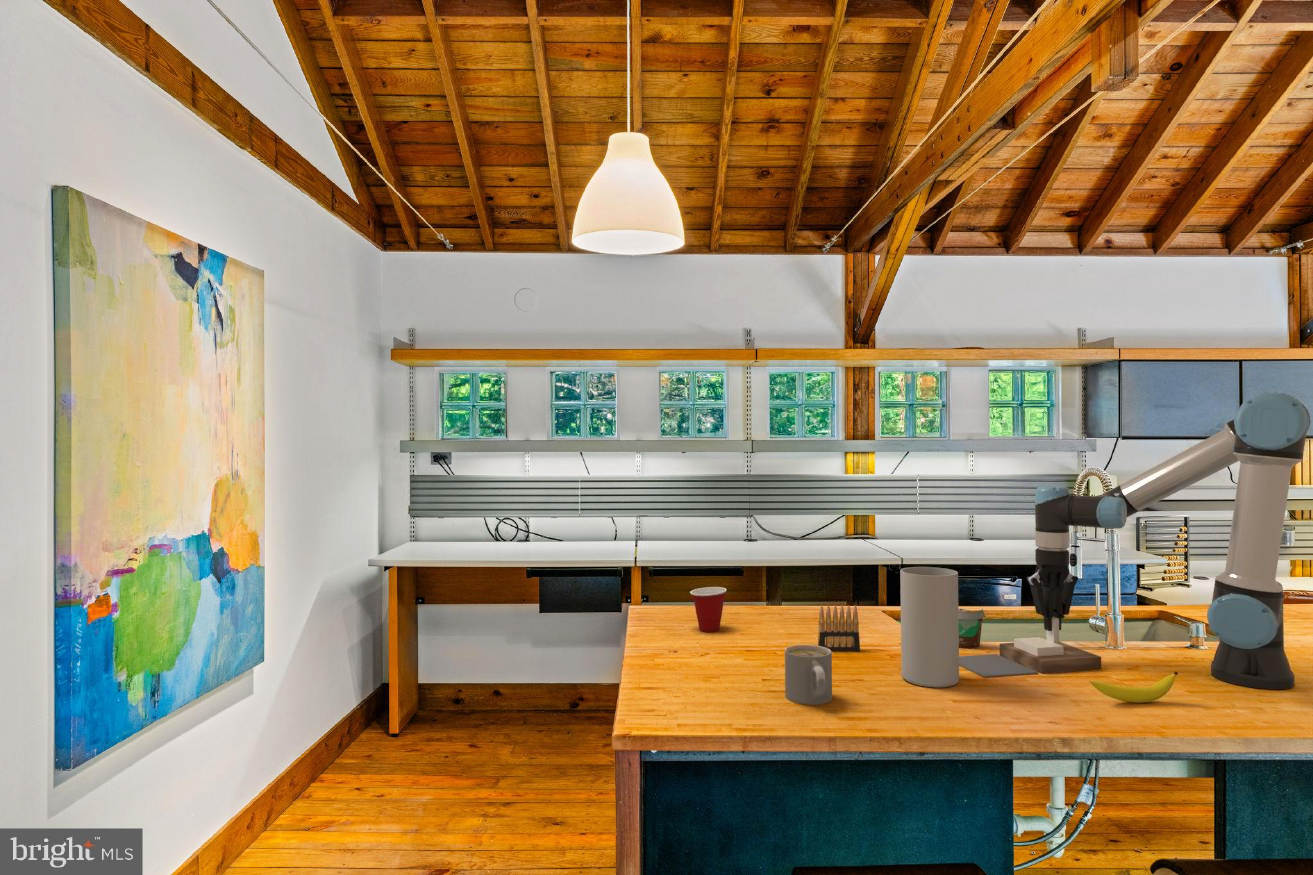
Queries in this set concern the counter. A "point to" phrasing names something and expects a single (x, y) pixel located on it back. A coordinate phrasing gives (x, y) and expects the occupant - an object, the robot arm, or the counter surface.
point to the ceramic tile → (1038, 646)
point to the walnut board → (1053, 659)
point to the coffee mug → (808, 674)
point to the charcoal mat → (993, 666)
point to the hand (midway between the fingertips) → (1052, 643)
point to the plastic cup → (709, 607)
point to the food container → (970, 628)
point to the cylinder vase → (929, 626)
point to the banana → (1136, 690)
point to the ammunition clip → (839, 630)
